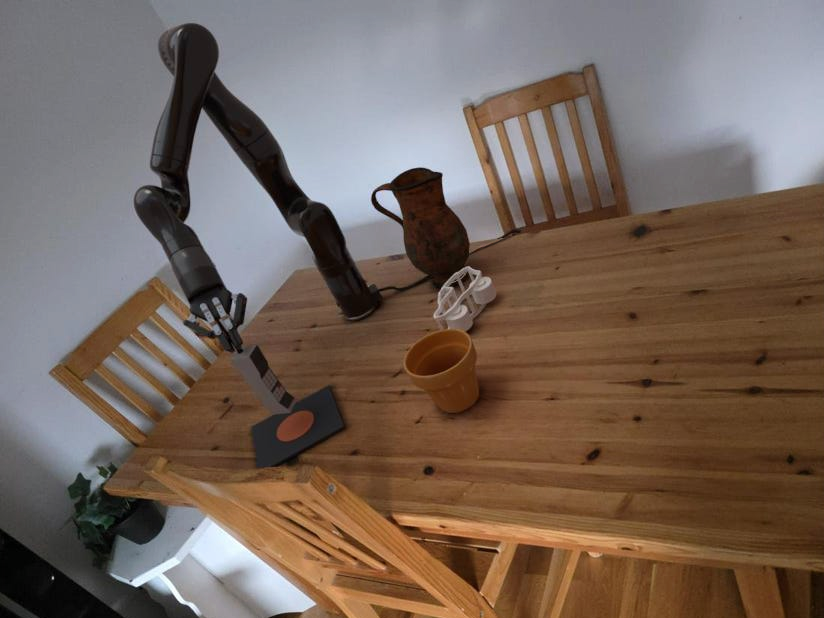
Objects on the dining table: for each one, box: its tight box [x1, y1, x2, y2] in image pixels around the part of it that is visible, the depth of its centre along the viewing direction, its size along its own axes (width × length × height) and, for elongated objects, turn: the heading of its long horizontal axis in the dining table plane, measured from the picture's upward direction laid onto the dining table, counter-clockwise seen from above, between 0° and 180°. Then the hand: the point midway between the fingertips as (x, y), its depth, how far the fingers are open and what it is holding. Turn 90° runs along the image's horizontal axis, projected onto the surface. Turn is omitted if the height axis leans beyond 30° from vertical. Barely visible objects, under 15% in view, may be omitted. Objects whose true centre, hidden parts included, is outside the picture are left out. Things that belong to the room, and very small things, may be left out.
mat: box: [251, 384, 346, 469], centre depth 133 cm, size 20×17×1 cm
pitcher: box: [370, 166, 471, 290], centre depth 154 cm, size 17×21×30 cm
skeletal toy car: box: [433, 265, 497, 332], centre depth 144 cm, size 20×11×7 cm, turn 147°
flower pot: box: [403, 328, 480, 414], centre depth 120 cm, size 14×14×13 cm
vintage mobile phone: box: [216, 320, 298, 416], centre depth 122 cm, size 4×5×25 cm
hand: (235, 349), depth 117 cm, fingers closed on vintage mobile phone, 1 cm apart
